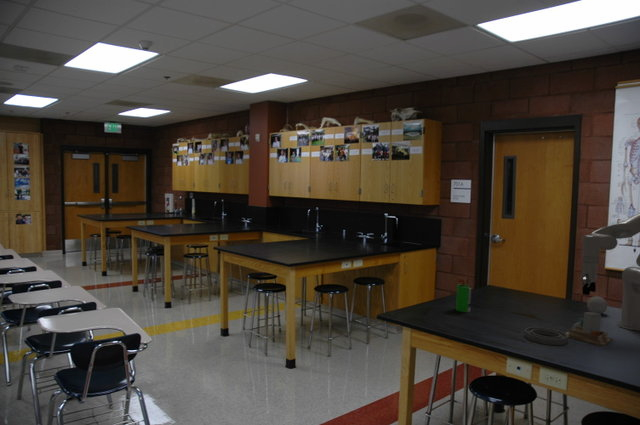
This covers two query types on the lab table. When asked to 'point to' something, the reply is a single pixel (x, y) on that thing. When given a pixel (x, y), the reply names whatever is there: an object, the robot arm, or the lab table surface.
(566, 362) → the lab table surface
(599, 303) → the eye model
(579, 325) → the gate
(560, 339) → the mechanical component
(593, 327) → the skincare box
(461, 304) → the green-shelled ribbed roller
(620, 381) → the lab table surface
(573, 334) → the rest
